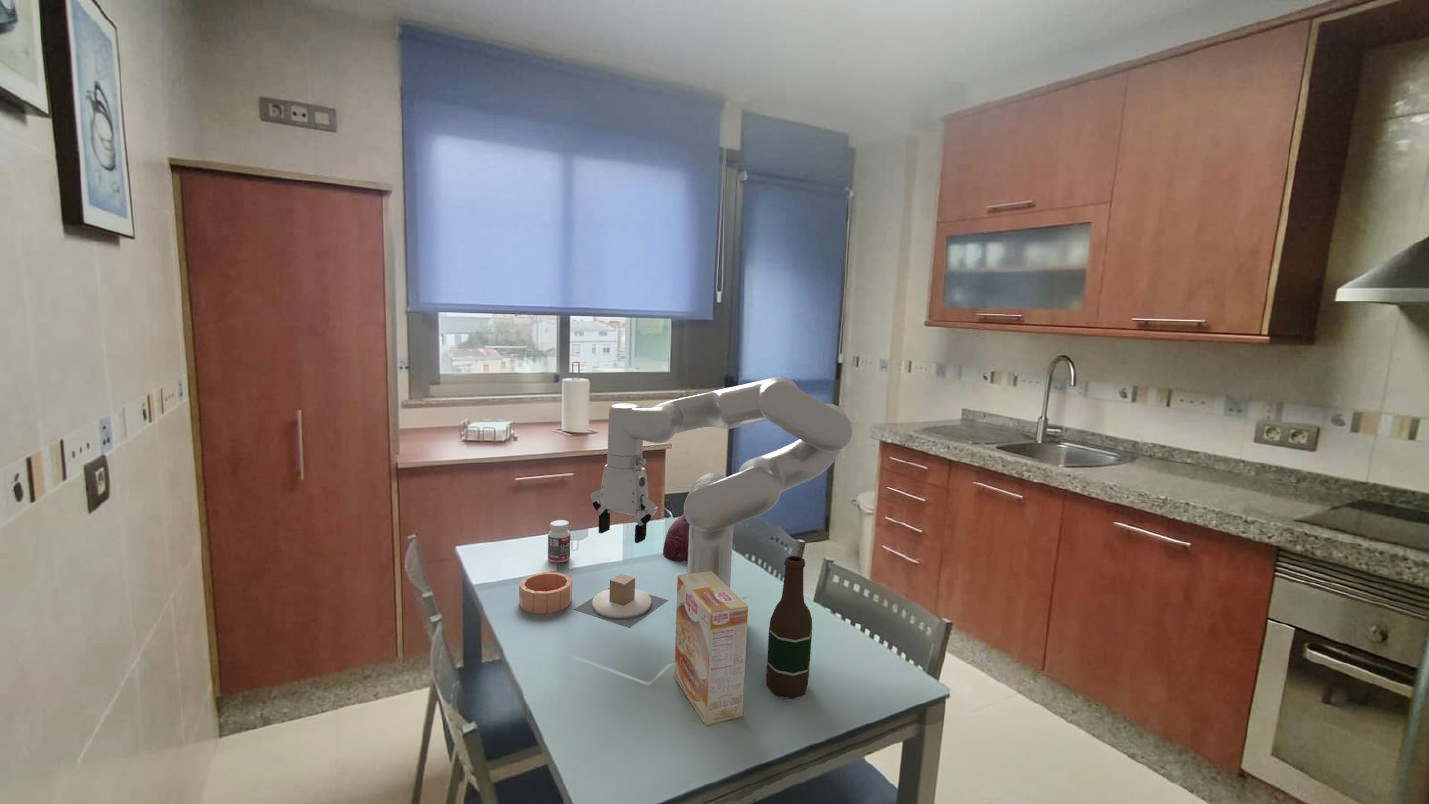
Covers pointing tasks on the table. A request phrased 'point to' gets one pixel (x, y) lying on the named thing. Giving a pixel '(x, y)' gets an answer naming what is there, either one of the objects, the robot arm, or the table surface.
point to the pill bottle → (559, 541)
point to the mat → (626, 622)
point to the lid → (621, 599)
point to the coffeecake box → (710, 646)
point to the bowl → (545, 592)
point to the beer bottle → (790, 636)
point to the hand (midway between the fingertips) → (621, 536)
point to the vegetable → (677, 540)
